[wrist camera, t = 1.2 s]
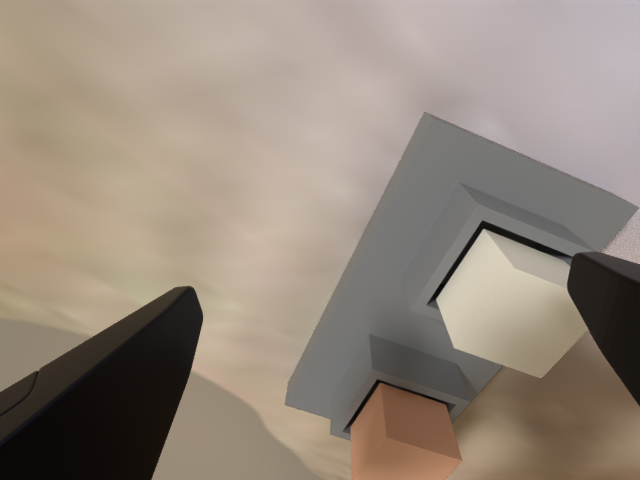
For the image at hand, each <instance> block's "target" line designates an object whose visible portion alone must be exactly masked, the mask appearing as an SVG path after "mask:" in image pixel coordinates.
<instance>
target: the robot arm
mask: <svg viewBox="0 0 640 480" xmlns="http://www.w3.org/2000/svg"><path fill="white" fill-rule="evenodd" d="M567 290H568V293H569V295H570V297H571V299H572V301H573V303H574V304H575V306H576V308H577V310H578V312H579V313H580V315H581V317H582V319H583V321H584V322H585V324H586V326H587V328H588V330H589V332H590V333H591V335H592V337H593V339H594V341H595V342H596V344H597V345H598V347H599V349H600V350H601V352H602V353H603V355H604V356H605V358H606V359H607V361H608V362H609V364H610V365H611V366H612V368H613V369H614V371H615V372H616V374H617V375H618V376H619V378H620V379H621V381H622V382H623V383H624V385H625V386H626V388H627V389H628V391H629V392H630V393H631V395H632V396H633V398H634V399H635V400H636V402H637V403H638V405H639V406H640V264H637V263H633V262H630V261H627V260H623V259H620V258H617V257H614V256H610V255H607V254H604V253H600V252H597V251H590V252H579V253H576V254H575V255H574V256H573V257H572V260H571V265H570V270H569V275H568V280H567ZM202 323H203V313H202V309H201V306H200V303H199V300H198V297H197V294H196V292H195V289H194V288H193V287H191V286H182V287H175V288H173V289H172V290H170V291H168V292H167V293H165V294H163V295H162V296H160V297H158V298H157V299H155V300H153V301H152V302H150V303H148V304H147V305H145V306H143V307H142V308H140V309H138V310H137V311H135V312H133V313H132V314H130V315H128V316H127V317H125V318H123V319H122V320H120V321H118V322H117V323H115V324H113V325H112V326H110V327H108V328H107V329H105V330H103V331H102V332H100V333H98V334H97V335H95V336H93V337H92V338H90V339H88V340H87V341H85V342H83V343H82V344H80V345H78V346H77V347H75V348H73V349H72V350H70V351H68V352H67V353H65V354H63V355H62V356H60V357H58V358H57V359H55V360H53V361H52V362H50V363H49V364H47V365H45V366H43V367H42V368H41V369H40V370H39V371H35V372H33V373H32V374H30V375H28V376H27V377H25V378H23V379H22V380H20V381H18V382H17V383H15V384H13V385H11V386H10V387H8V388H6V389H5V390H3V391H2V392H0V480H151V479H152V476H153V474H154V471H155V468H156V465H157V463H158V460H159V457H160V455H161V452H162V449H163V447H164V444H165V441H166V438H167V435H168V433H169V430H170V427H171V425H172V422H173V419H174V417H175V414H176V411H177V408H178V405H179V403H180V400H181V397H182V394H183V391H184V389H185V386H186V384H187V381H188V378H189V375H190V371H191V368H192V364H193V360H194V356H195V352H196V347H197V343H198V339H199V335H200V331H201V327H202Z"/></svg>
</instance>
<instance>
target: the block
mask: <svg viewBox="0 0 640 480" xmlns="http://www.w3.org/2000/svg"><path fill="white" fill-rule="evenodd" d="M638 209H639V207H637V206H635V205H633V204H631V203H629V202H627V201H626V200H624V199H622V198H620V197H618V196H616V195H614V194H612V193H610V192H608V191H605V190H603V189H601V188H598V187H596V186H594V185H591V184H589V183H587V182H585V181H582V180H580V179H578V178H575V177H573V176H571V175H568V174H566V173H564V172H562V171H559V170H557V169H555V168H552V167H550V166H548V165H545V164H543V163H541V162H539V161H536V160H534V159H532V158H529V157H527V156H525V155H522V154H520V153H518V152H516V151H513V150H511V149H509V148H506V147H504V146H502V145H499V144H497V143H495V142H493V141H490V140H488V139H486V138H483V137H481V136H479V135H476V134H474V133H472V132H470V131H467V130H465V129H463V128H460V127H458V126H456V125H453V124H451V123H449V122H447V121H444V120H442V119H440V118H437V117H435V116H433V115H430V114H428V113H426V112H424V114H423V116H422V118H421V120H420V122H419V124H418V126H417V128H416V130H415V132H414V134H413V136H412V138H411V140H410V142H409V144H408V146H407V148H406V150H405V152H404V154H403V156H402V158H401V160H400V162H399V164H398V166H397V168H396V170H395V172H394V174H393V176H392V178H391V180H390V182H389V184H388V186H387V188H386V190H385V192H384V194H383V196H382V198H381V200H380V202H379V204H378V206H377V208H376V210H375V212H374V214H373V216H372V218H371V220H370V222H369V224H368V226H367V228H366V230H365V232H364V233H363V235H362V237H361V239H360V241H359V243H358V245H357V247H356V249H355V251H354V253H353V255H352V257H351V259H350V261H349V263H348V265H347V267H346V269H345V271H344V273H343V275H342V277H341V279H340V281H339V283H338V285H337V287H336V289H335V291H334V293H333V295H332V297H331V299H330V301H329V303H328V305H327V307H326V309H325V311H324V313H323V315H322V317H321V319H320V321H319V323H318V325H317V327H316V329H315V331H314V333H313V335H312V337H311V339H310V341H309V343H308V345H307V347H306V349H305V351H304V353H303V355H302V357H301V359H300V361H299V363H298V365H297V367H296V369H295V371H294V373H293V375H292V377H291V379H290V381H289V383H288V387H287V394H286V400H285V405H287V406H290V407H293V408H296V409H300V410H303V411H306V412H309V413H313V414H316V415H319V416H322V417H325V418H329V419H331V428H330V435H333V436H337V437H340V438H343V439H346V440H350V441H351V426H352V424H353V423H354V421H355V420H356V418H357V417H358V415H359V414H360V412H361V411H362V409H363V408H364V406H365V405H366V403H367V402H368V400H369V399H370V397H371V396H372V394H373V393H374V391H375V390H376V388H377V387H378V385H379V384H380V383H382V384H385V385H388V386H391V387H395V388H398V389H401V390H404V391H407V392H410V393H413V394H416V395H419V396H422V397H425V398H428V399H431V400H434V401H437V402H440V403H443V404H446V406H447V410H448V413H449V417H450V420H451V423H453V422H454V421H455V420H456V419H457V418H458V416H459V415H460V414H461V413H462V412H463V411H464V410H465V408H466V407H467V406H468V405H469V404H470V403H471V401H472V400H473V399H474V398H475V397H476V396H477V395H478V393H479V392H480V391H481V390H482V389H483V388H484V386H485V385H486V384H487V383H488V382H489V381H490V380H491V378H492V377H493V376H494V375H495V374H496V373H497V372H498V370H499V369H500V368H501V367H502V366H503V365H501V364H498V363H495V362H492V361H489V360H486V359H484V358H481V357H478V356H475V355H472V354H469V353H466V352H464V351H461V350H458V349H455V348H454V347H453V344H452V341H451V339H450V336H449V333H448V331H447V328H446V325H445V323H444V320H443V317H442V314H441V312H440V309H439V306H438V304H437V301H436V299H437V297H438V296H439V294H440V293H441V291H442V290H443V288H444V287H445V285H446V284H447V282H448V281H449V280H450V278H451V277H452V275H453V274H454V272H455V271H456V269H457V268H458V266H459V265H460V263H461V262H462V260H463V259H464V257H465V256H466V254H467V253H468V251H469V250H470V248H471V247H472V245H473V244H474V242H475V241H476V239H477V238H478V236H479V235H480V233H481V232H482V230H483V229H486V230H488V231H491V232H493V233H496V234H498V235H501V236H503V237H506V238H508V239H511V240H513V241H516V242H518V243H521V244H523V245H526V246H528V247H531V248H533V249H536V250H538V251H541V252H543V253H546V254H548V255H551V256H553V257H556V258H558V259H561V260H563V261H565V262H566V263H567V264H568V265H569V266H570V265H571V260H572V257H573V256H574V255H575V254H576V253H579V252H590V251H597V252H600V253H601V252H602V250H603V249H604V248H605V247H606V246H607V245H608V244H609V242H610V241H611V240H612V239H613V238H614V237H615V235H616V234H617V233H618V232H619V231H620V230H621V229H622V227H623V226H624V225H625V224H626V223H627V222H628V221H629V219H630V218H631V217H632V216H633V215H634V214H635V212H636V211H637V210H638Z"/></svg>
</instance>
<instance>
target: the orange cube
mask: <svg viewBox="0 0 640 480" xmlns="http://www.w3.org/2000/svg"><path fill="white" fill-rule="evenodd" d="M461 462H462V458H461V454H460V451H459V447H458V444H457V441H456V437H455V434H454V430H453V427H452V423H451V420H450V417H449V413H448V410H447V406H446V404H443V403H440V402H437V401H434V400H431V399H428V398H425V397H422V396H419V395H416V394H413V393H410V392H407V391H404V390H401V389H398V388H395V387H391V386H388V385H385V384H382V383H380V384H379V385H378V387H377V388H376V390H375V391H374V393H373V394H372V396H371V397H370V399H369V400H368V402H367V403H366V405H365V406H364V408H363V409H362V411H361V412H360V414H359V415H358V417H357V418H356V420H355V421H354V423H353V424H352V426H351V469H352V480H445V479H446V478H447V477H448V475H449V474H450V473H451V472H452V471H453V470H454V469H455V468H456V467H457V466H458V465H459V464H460V463H461Z"/></svg>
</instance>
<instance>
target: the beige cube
mask: <svg viewBox="0 0 640 480" xmlns="http://www.w3.org/2000/svg"><path fill="white" fill-rule="evenodd" d="M569 270H570V266H569V265H568V264H567V263H566V262H565V261H563V260H561V259H558V258H556V257H553V256H551V255H548V254H546V253H543V252H541V251H538V250H536V249H533V248H531V247H528V246H526V245H523V244H521V243H518V242H516V241H513V240H511V239H508V238H506V237H503V236H501V235H498V234H496V233H493V232H491V231H488V230H486V229H483V230H482V232H481V233H480V235H479V236H478V238H477V239H476V241H475V242H474V244H473V245H472V247H471V248H470V250H469V251H468V253H467V254H466V256H465V257H464V259H463V260H462V262H461V263H460V265H459V266H458V268H457V269H456V271H455V272H454V274H453V275H452V277H451V278H450V280H449V281H448V282H447V284H446V285H445V287H444V288H443V290H442V291H441V293H440V294H439V296H438V297H437V299H436V301H437V304H438V306H439V309H440V312H441V314H442V317H443V320H444V323H445V325H446V328H447V331H448V333H449V336H450V339H451V341H452V344H453V347H454V348H455V349H458V350H461V351H464V352H466V353H469V354H472V355H475V356H478V357H481V358H484V359H486V360H489V361H492V362H495V363H498V364H501V365H504V366H506V367H509V368H512V369H515V370H518V371H521V372H523V373H526V374H529V375H532V376H535V377H538V378H542V377H543V376H544V375H545V374H546V373H547V372H548V371H549V370H550V369H551V368H552V367H553V366H554V365H555V364H556V363H557V362H558V361H559V360H560V359H561V358H562V357H563V355H564V354H565V353H566V352H567V351H568V350H569V349H570V348H571V347H572V346H573V345H574V344H575V343H576V342H577V341H578V340H579V339H580V338H581V337H582V336H583V335H584V334H585V333H586V331H587V330H588V328H587V326H586V324H585V322H584V321H583V319H582V317H581V315H580V313H579V312H578V310H577V308H576V306H575V304H574V303H573V301H572V299H571V297H570V295H569V293H568V290H567V280H568V275H569Z"/></svg>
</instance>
